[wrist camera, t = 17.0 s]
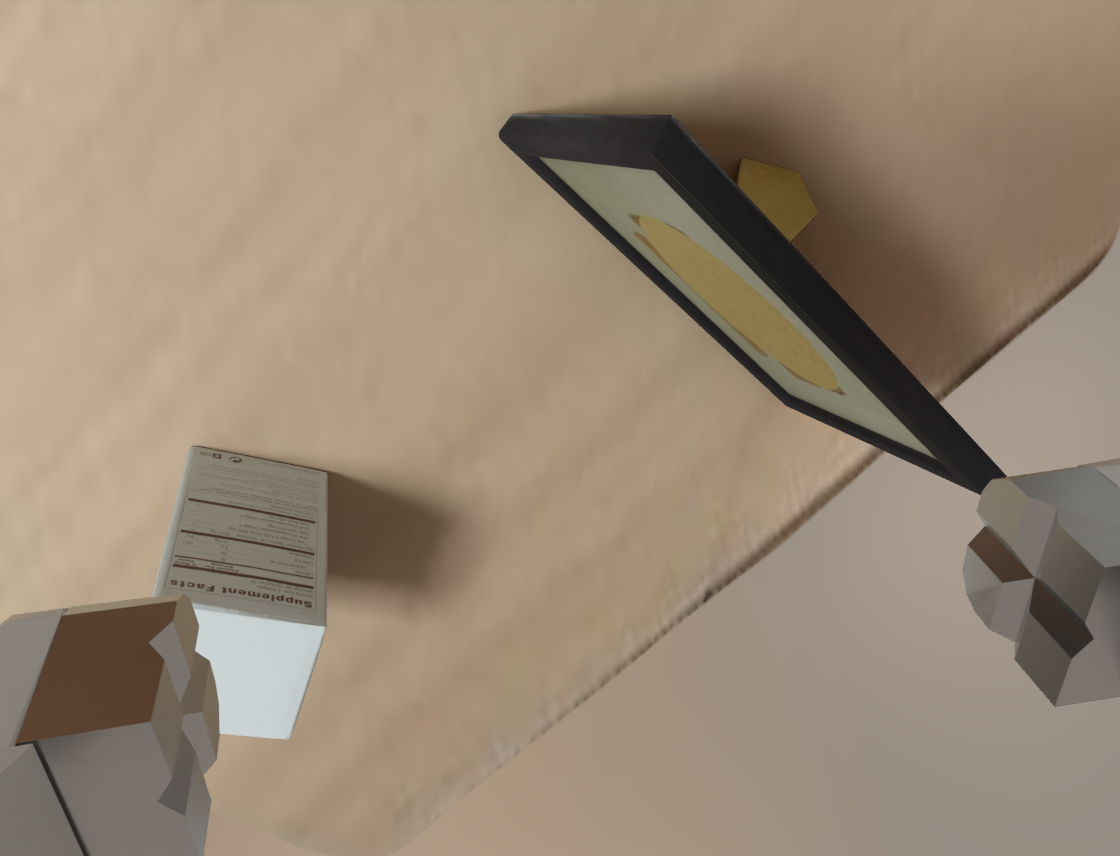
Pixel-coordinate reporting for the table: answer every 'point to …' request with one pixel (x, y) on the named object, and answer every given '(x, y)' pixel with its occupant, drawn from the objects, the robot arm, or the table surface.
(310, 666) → the supplement box
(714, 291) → the picture frame
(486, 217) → the table surface
